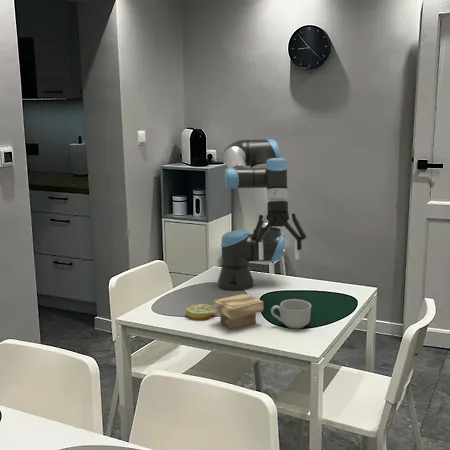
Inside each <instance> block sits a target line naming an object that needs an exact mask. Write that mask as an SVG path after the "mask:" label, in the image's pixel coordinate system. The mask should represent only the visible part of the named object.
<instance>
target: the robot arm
mask: <svg viewBox="0 0 450 450" xmlns="http://www.w3.org/2000/svg"><path fill="white" fill-rule="evenodd" d="M222 159H223V163H224V164H225V166H227V168H226V169H225V171H224V185H225V187H226V188H227V189H234V190H237V189H254V193H255V194H254V196H255V215H256V216H255V218H256V220H255V221H256V226H255V227H254V228H253V232H252V233H250V232H249V230H246V229H238V230H237V229H235V230H231V231H227V232H225V233H224V234H222V236H221V244H220V247H221V269H220V272H219V276H218V279H217V287H218V288H220V289H223V290H225V291H243V290H244V291H245V290H248V289H251V288H253V286H254V279H253V276H252V273H251V270H250V262H275V261H281V260H282V258H283V257H284V252H285V243H286V242H285V241H286V236H285V235H286V234H285V233H283V232H281V228H280V227H284V228H286V229H287V231H288V232H289V233H290V235H292V236H293V237H294V239H295V241H294V259H295V260H300V251H301V250H302V249H303V248H302V241H303V240H306V239H307V235H306V233H305V231H304V229H303V227H302V225H301V223H300V221H299V219H298V214H297V213H292V214H289V202H288V199H289V198H288V197H289V195H288V194H289V193H288V191H289V190H288V162H287V159H285V158H284V157H283V158H282V157H281V151H280V147H279V144H278V142H277V140H275V139H267V138H265V139H239V140H236V141H234V142H231V144H229V145H227V147H225V149H224V151H223V154H222ZM289 219H290V220H291V221H292V222H293V224H294V226H295V228H296V230H297V231H298V233H297V231H296V230H295V229H294V228H293V227H292V225H291V224H290V223H289V222H288V221H289Z"/></svg>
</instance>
